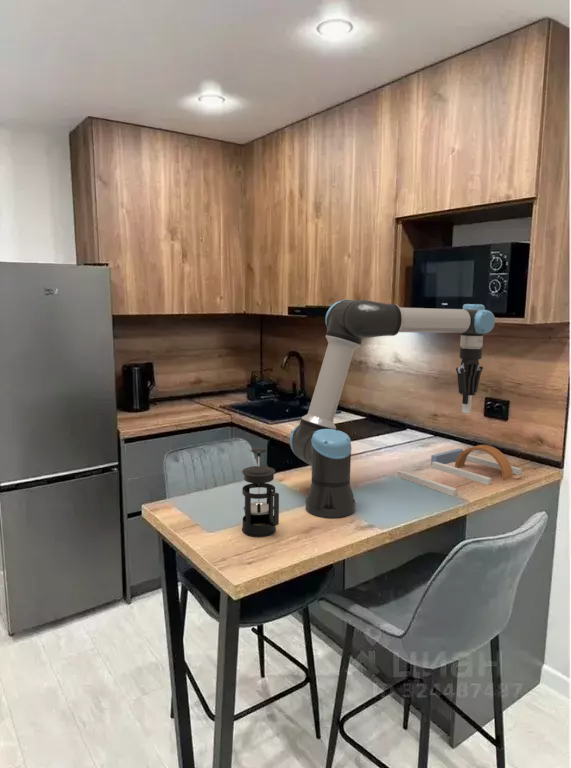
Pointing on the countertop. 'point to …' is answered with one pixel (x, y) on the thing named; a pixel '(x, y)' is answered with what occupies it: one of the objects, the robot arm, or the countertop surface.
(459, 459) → the arch
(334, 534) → the countertop surface
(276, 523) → the french press
